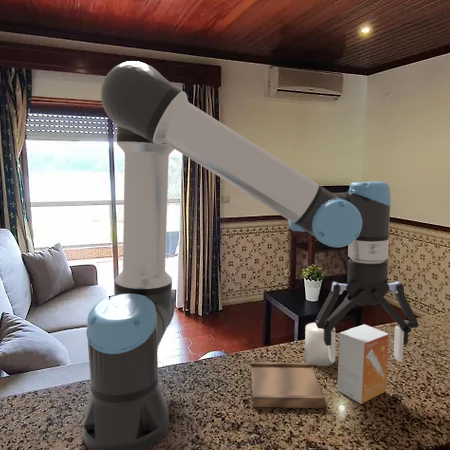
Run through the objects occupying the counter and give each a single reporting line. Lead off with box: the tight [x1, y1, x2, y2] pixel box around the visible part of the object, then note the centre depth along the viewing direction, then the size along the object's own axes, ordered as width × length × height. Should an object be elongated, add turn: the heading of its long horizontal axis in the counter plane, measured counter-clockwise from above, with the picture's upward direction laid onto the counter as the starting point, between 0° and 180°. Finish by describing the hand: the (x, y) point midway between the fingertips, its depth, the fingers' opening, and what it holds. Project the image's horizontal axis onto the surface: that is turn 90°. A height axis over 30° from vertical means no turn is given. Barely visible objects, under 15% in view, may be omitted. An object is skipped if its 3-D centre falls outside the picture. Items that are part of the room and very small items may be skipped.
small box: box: [336, 323, 390, 405], centre depth 82 cm, size 8×6×13 cm
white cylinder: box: [304, 322, 336, 367], centre depth 97 cm, size 7×9×8 cm
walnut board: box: [250, 361, 326, 409], centre depth 84 cm, size 14×14×2 cm
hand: (364, 359), depth 81 cm, fingers open, 13 cm apart
